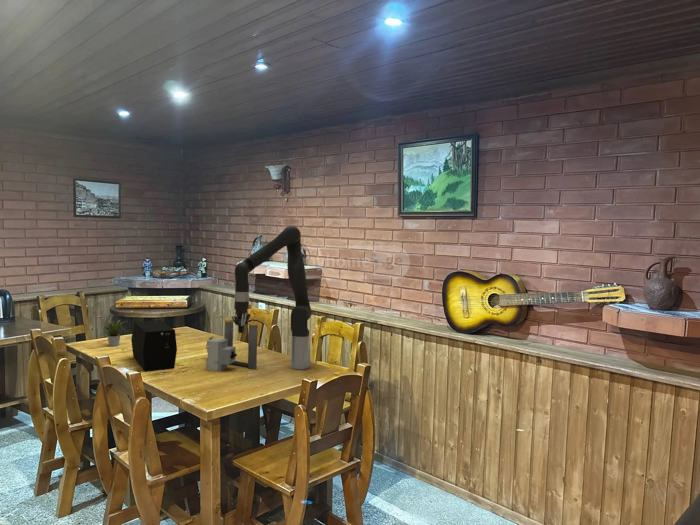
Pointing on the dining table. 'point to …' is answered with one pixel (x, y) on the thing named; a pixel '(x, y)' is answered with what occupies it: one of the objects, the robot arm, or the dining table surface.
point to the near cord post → (252, 345)
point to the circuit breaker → (219, 354)
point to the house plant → (113, 334)
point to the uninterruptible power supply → (154, 345)
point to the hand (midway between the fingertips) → (240, 332)
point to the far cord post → (229, 331)
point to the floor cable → (240, 363)
